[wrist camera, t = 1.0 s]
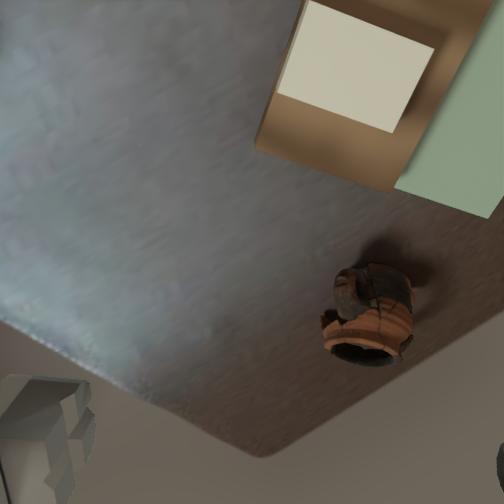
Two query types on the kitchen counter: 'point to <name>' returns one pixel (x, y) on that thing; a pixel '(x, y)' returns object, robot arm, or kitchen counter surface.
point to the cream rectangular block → (351, 67)
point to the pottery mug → (370, 317)
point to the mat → (466, 130)
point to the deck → (357, 133)
